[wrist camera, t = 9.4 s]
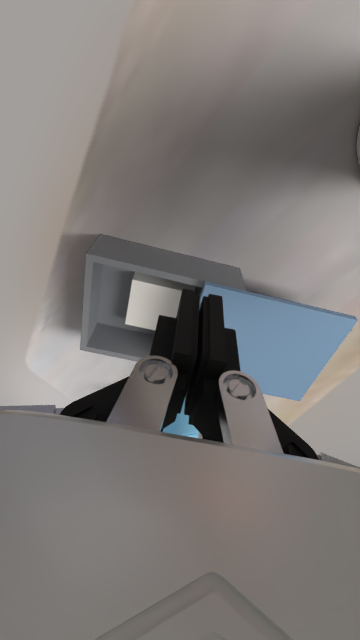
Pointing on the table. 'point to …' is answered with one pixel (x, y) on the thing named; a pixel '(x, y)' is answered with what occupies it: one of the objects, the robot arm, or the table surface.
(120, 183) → the table surface
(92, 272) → the base
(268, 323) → the lid
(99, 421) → the robot arm
